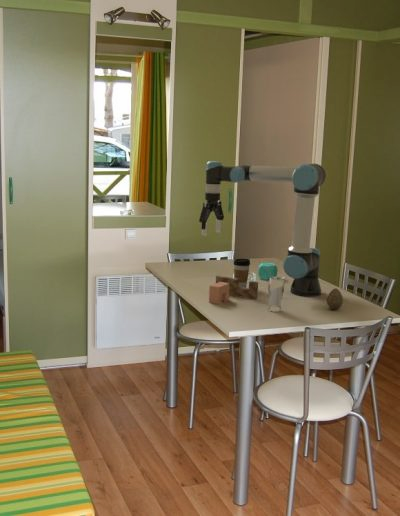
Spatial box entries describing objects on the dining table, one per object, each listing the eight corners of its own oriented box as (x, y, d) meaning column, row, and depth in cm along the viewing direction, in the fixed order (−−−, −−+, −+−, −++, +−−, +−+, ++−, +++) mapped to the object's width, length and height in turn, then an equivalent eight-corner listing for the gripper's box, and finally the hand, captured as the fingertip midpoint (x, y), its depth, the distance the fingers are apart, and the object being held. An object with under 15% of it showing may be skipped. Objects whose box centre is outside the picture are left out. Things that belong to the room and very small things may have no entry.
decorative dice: (270, 281, 368) (271, 266, 367) (257, 278, 373) (258, 264, 371) (277, 278, 375) (278, 264, 373) (264, 276, 379) (265, 262, 378)
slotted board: (257, 298, 331) (258, 282, 329) (255, 299, 329) (256, 283, 327) (217, 291, 342) (218, 275, 340) (215, 291, 340) (216, 276, 338)
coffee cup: (247, 290, 345) (249, 261, 342) (231, 289, 347) (232, 260, 344) (249, 286, 353) (251, 258, 350) (233, 285, 355) (235, 257, 352)
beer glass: (272, 307, 316) (274, 275, 313) (285, 310, 311) (287, 278, 308) (264, 310, 310) (266, 277, 307) (277, 313, 306) (279, 280, 303)
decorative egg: (324, 307, 319) (325, 286, 317) (339, 307, 320) (341, 286, 318) (328, 311, 312) (330, 290, 310) (343, 311, 313) (345, 290, 311)
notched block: (219, 298, 329) (220, 281, 327) (228, 299, 326) (229, 283, 325) (208, 302, 320) (209, 285, 319) (218, 304, 318) (219, 287, 316)
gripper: (219, 190, 358) (217, 230, 362) (193, 193, 337) (191, 236, 341) (231, 191, 354) (229, 232, 358) (206, 194, 333) (204, 237, 338)
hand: (211, 234), depth 350 cm, fingers open, 13 cm apart
